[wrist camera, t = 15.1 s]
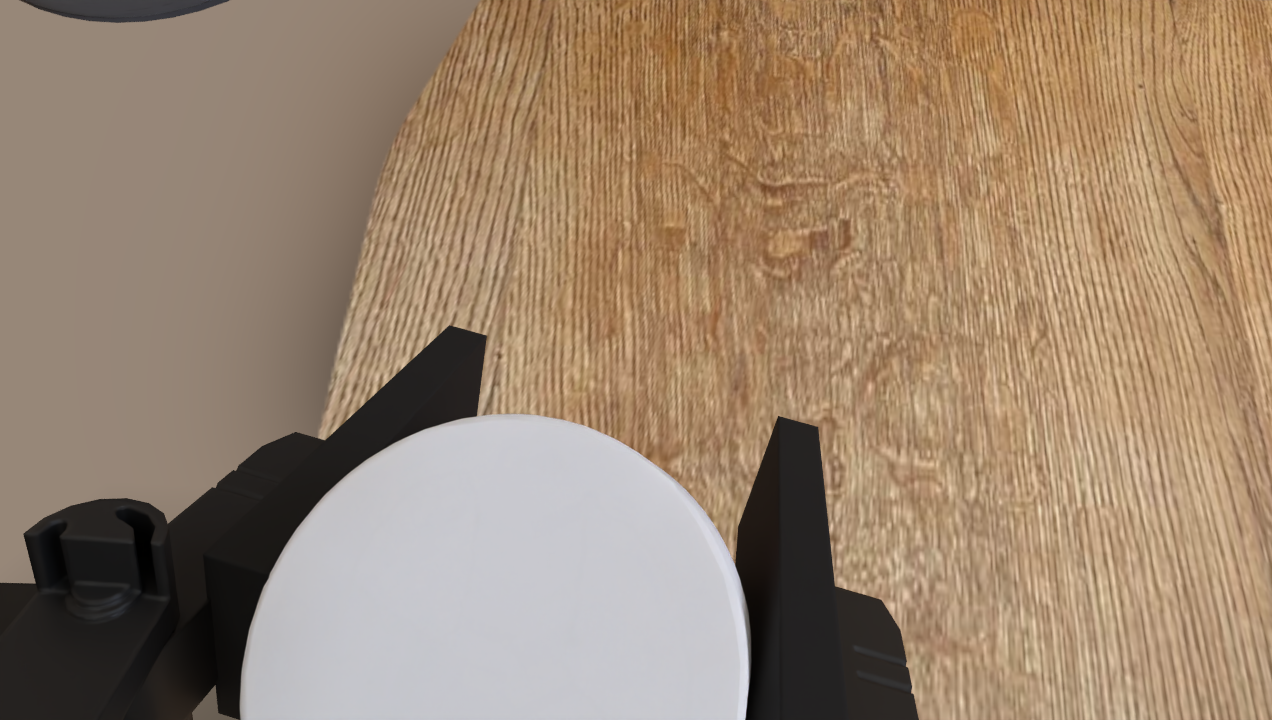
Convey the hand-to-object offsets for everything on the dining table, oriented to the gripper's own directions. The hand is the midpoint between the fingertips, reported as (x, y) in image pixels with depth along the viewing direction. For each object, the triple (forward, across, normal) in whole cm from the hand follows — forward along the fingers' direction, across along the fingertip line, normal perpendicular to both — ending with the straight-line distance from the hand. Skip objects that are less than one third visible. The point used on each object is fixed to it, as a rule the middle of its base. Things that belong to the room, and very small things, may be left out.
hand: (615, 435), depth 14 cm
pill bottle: (0, 0, -5) cm, 5 cm away
